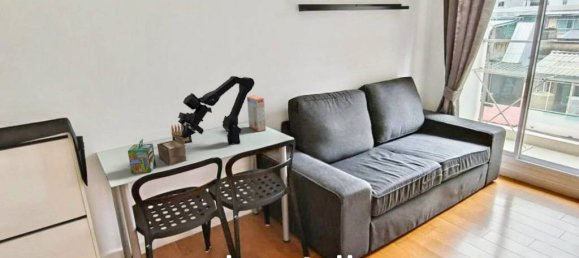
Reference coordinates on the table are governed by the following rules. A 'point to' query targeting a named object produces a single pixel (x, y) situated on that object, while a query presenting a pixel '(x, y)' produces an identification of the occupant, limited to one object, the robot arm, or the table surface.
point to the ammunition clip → (180, 134)
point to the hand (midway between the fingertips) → (181, 139)
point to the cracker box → (256, 113)
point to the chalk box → (141, 158)
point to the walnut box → (171, 154)
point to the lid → (175, 142)
